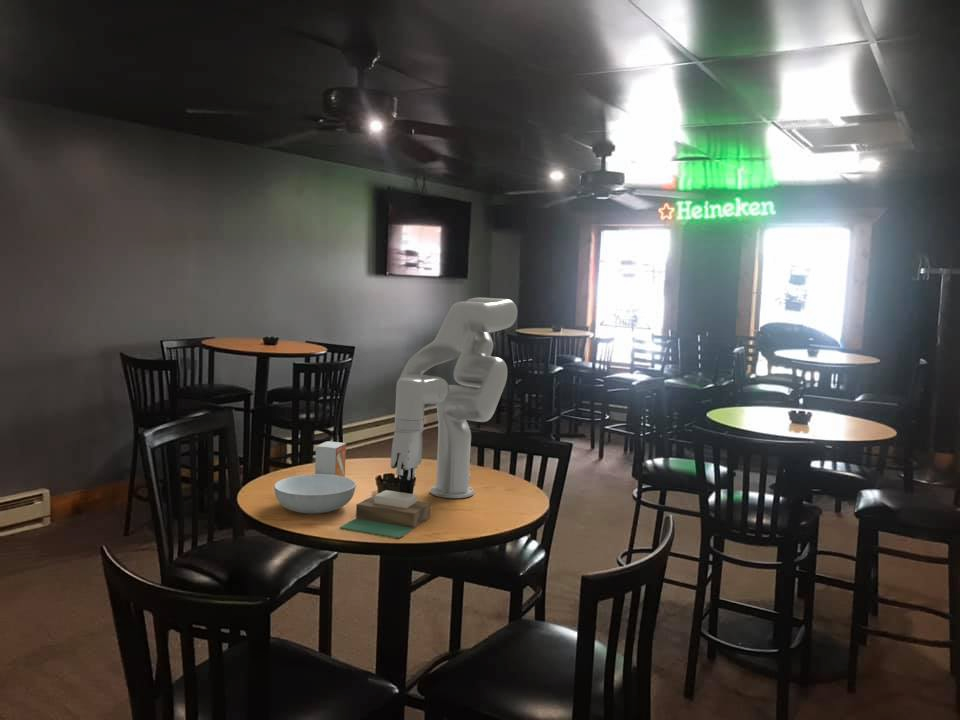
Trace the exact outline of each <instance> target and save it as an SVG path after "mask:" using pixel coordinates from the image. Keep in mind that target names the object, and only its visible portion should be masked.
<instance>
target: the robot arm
mask: <svg viewBox="0 0 960 720" xmlns="http://www.w3.org/2000/svg"><path fill="white" fill-rule="evenodd" d="M517 317H518V308H517V305H516V304H515V302H514V301H513V300H511V299H509V298H498V297H497V298H495V297H494V298H493V297H473V298H469V299H467V300H466V301H457V302H455V303H454V304H452V305H451V307H450V309H449V311H448V312H447V315H446V316H445V318H444V321H443V323H442V324H441V326H440V328H439V330H438V332H437V334H436V336H435V338H434V340H433V341H431V342H430V343H428V344H427V345H425V346H423V347H422V348H421V349H419V351H417V352H416V353H415V354H414V355H412V356H411V357H410V358H409V360H408V361H407V363H406V364H405V366H404V368H403V369H402V372H401V374H400V376H399V378H398V380H397V382H396V389H395V408H394V409H395V413H394V434H393V438H392V444H391V445H392V446H391V455H390V456H391V457H390V468H391V469H393V470H394V469H396V472H395V474H396V476H398V478H399V491H398V492H402V493H409V494H414V479H415V475H416V470H417V468H418V466H419V465H420V464H421V463H422V460H423V459H422V458H423V432H424V427H425V426H424V424H425V423H424V421H425V420H424V419H425V405H436V411H437V412H436V413H437V422H438V423H437V424H438V426H437V427H438V429H437V431H438V434H437V435H438V436H437V453H436V454H437V456H436V477H435V478H436V480H435V481H436V482H435V485H432V486H431V487H430V493H431V494H432V495H433V496H436V497H439V498H446V499H464V498H468V497H472V496H473V495H475V494H474V493H475V489H474V488H473V487H471V486H470V480H471V478H472V477H471V476H472V475H471V474H470V468H471V467H470V465H471V464H470V463H471V444H472V443H471V442H472V432H471V429H470V425H469V423H468V421H472V422H479V423H484V422H488V421H489V420H491V419H492V417H493V415H494V414H495V412H496V409H497V406H498V404H499V402H500V400H501V396H502V393H503V392H504V389H505V387H506V383H507V379H508V365H507V363H506V362H505V360H504V359H502V358H500V357H498V356H492V353H493V350H494V342H493V339H492V337H491V335H490V333H495V332H499V331H502V330H506V329H509V328H511V326H513V325H514V324H515V322H516V321H517ZM457 358H458V359H457ZM456 359H457V361H456V364H455V366H454V370H453V378H454V381H455V382H456V383H457V384H449V383H448V382H447V380H446V379H445V378H442V377H440V376H435V375H427V374H424V373H425V372H427V371H428V370H430V369H431V368H433V367H434V366H437V365H440V364H444V363H448V362H449V361H453V360H456Z"/></svg>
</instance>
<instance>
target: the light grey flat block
mask: <svg viewBox="0 0 960 720" xmlns="http://www.w3.org/2000/svg"><path fill="white" fill-rule="evenodd" d="M374 495H375V503H376V504H382V505H389V506H395V507H401V508H408V507H410V506H411V505H413V504H415V503H416V502H417V501H418V498H417V497H418V494H416V493H412V494H409V493H402V492H399V491H395V490H387V489H385V490H382V491H381V492H379V493H377V494H374Z"/></svg>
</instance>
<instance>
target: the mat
mask: <svg viewBox="0 0 960 720" xmlns="http://www.w3.org/2000/svg"><path fill="white" fill-rule="evenodd" d="M339 529H340V530H344V529H346V530H345V531H349V530H350V531H351V532H355V531H356V532H355V533H361V532H362V534H369V535H373V534H374V536H378V535H380V536H379V537H384V536H388V537H387V538H390V537H395V538H394V539H396V538H400V537H401V538H403V537H404V536H406V535H407V534H409V533H411V530H412V531H413V530H414V529H413V528H410V527H404V526H398V525H392V524H386V523H380V522H374V521H368V520H362V519H356V518H354V519H352V520H351V521H349V522H347V523H345V524H343V525H341V526H339ZM408 532H409V533H408ZM405 534H406V535H405ZM403 535H404V536H403ZM402 536H403V537H402ZM401 538H400V539H401Z"/></svg>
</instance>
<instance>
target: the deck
mask: <svg viewBox="0 0 960 720" xmlns="http://www.w3.org/2000/svg"><path fill="white" fill-rule="evenodd" d="M375 495H376V494H374V495H372V496H370V497H369V498H366V499H364V500H362V501H360V502H358V503H356V504H355V505H356V507H355V508H356V509H355V510H356V511H355V512H356V513H355V519H362V520H368V521H374V522H380V523H386V524H392V525H398V526H404V527H410V528H413V530H415V529H416V528H418V527H419V526H421V525H423V524H424V523H425V522H427V521H428V520H430V519H431V502H425V501H418V500H417V502H416V503H415V504H413V505H411V506H410V507H408V508H401V507H395V506H389V505H382V504H376V503H375ZM429 518H430V519H429ZM426 520H427V521H426ZM423 522H424V523H423ZM420 524H421V525H420ZM417 526H418V527H417ZM414 528H415V529H414Z"/></svg>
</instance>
